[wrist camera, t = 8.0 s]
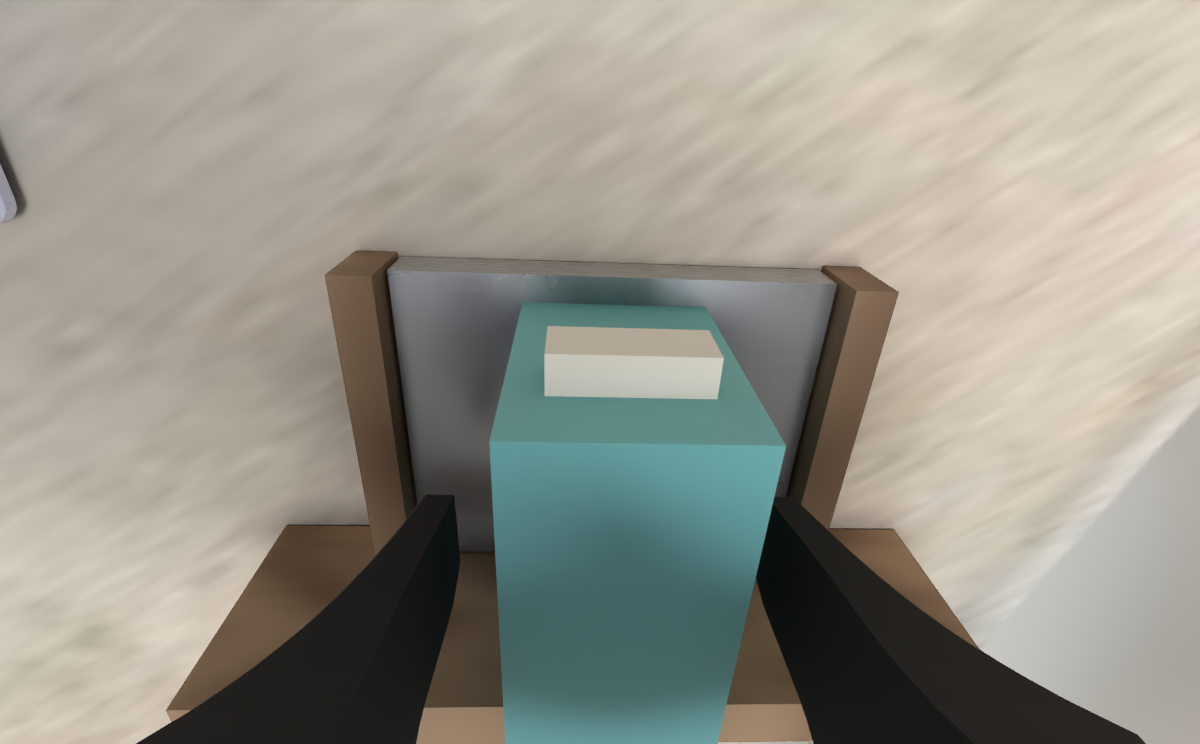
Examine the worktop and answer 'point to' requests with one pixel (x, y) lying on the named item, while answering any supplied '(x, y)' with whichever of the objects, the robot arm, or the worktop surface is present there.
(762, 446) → the cabinet block
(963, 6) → the worktop surface
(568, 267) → the grey flat plate
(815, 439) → the wooden tray
